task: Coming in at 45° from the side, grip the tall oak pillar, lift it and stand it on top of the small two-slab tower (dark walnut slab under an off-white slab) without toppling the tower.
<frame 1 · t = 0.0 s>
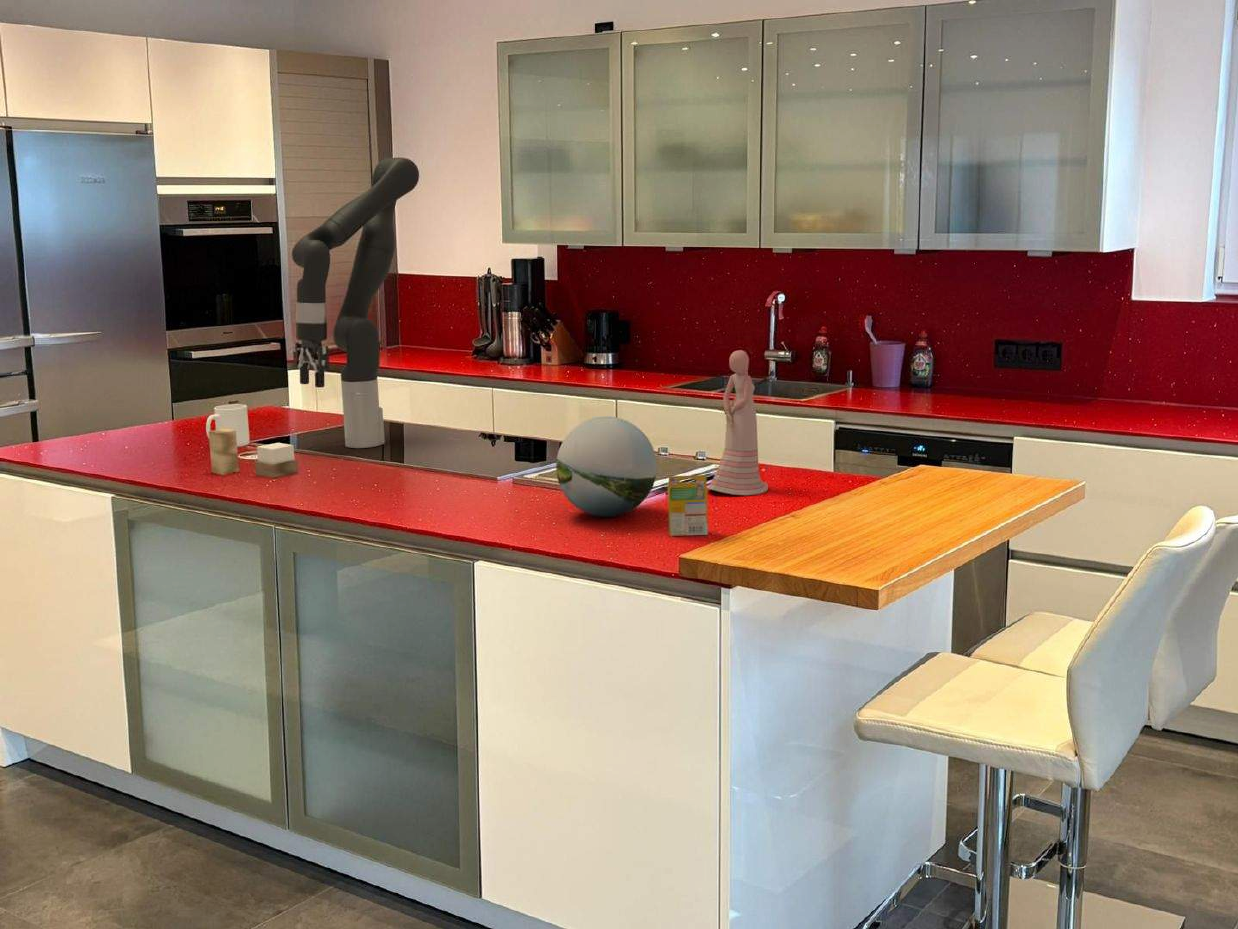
hand: (312, 385, 340), 17 cm above the table, tool pointing down, fingers open, 8 cm apart
crayon box: (688, 535, 256), on the table
slab top: (276, 460, 319), point 3 cm above the table, touching slab base
cup: (227, 446, 356), on the table
decorative sphere: (607, 516, 271), on the table
slab base: (276, 475, 319), on the table, touching slab top
pillar: (225, 472, 323), on the table
figurine: (738, 491, 290), on the table
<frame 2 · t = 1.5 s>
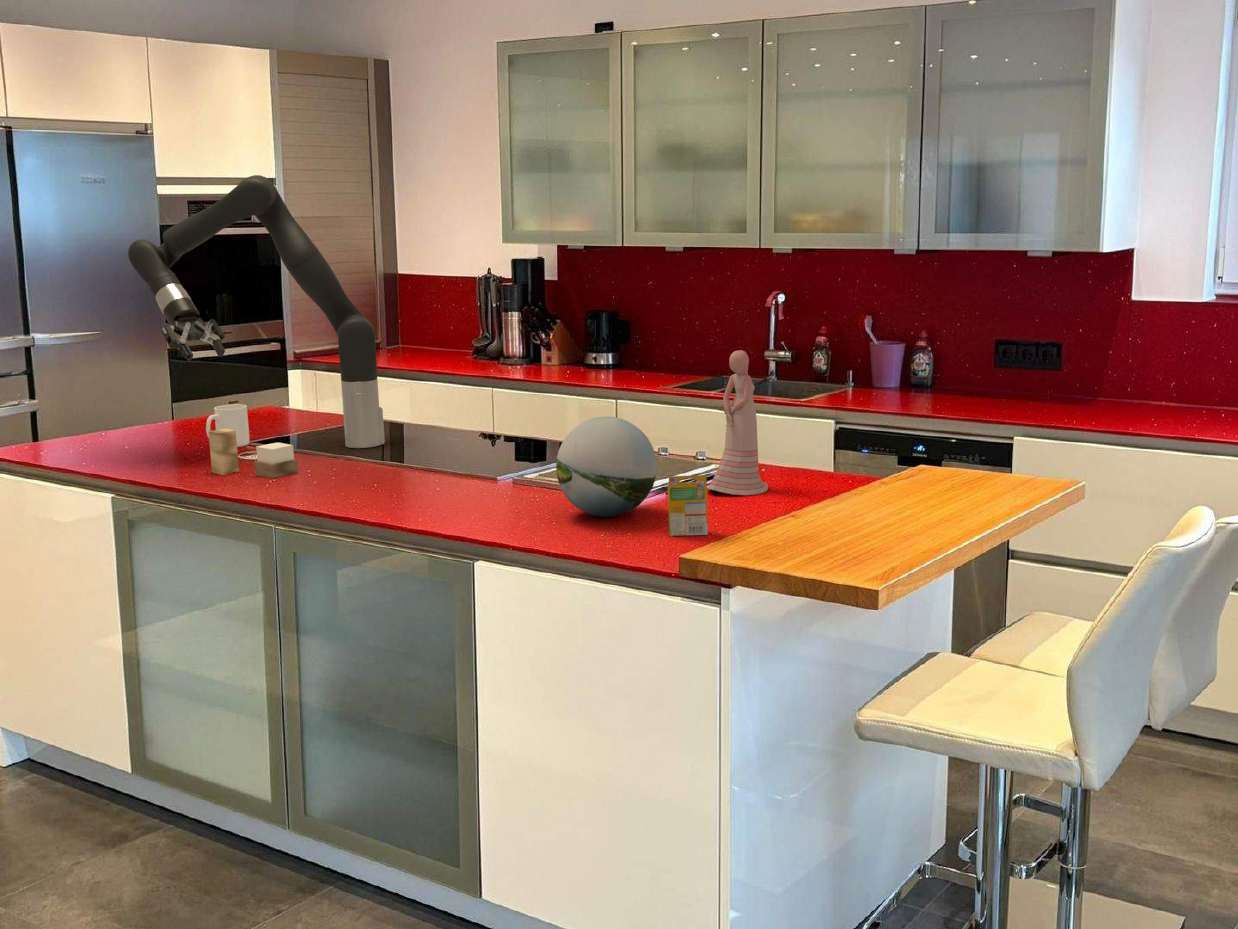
hand: (206, 356, 327), 27 cm above the table, tool tilted 45°, fingers open, 8 cm apart
nothing on the table moved.
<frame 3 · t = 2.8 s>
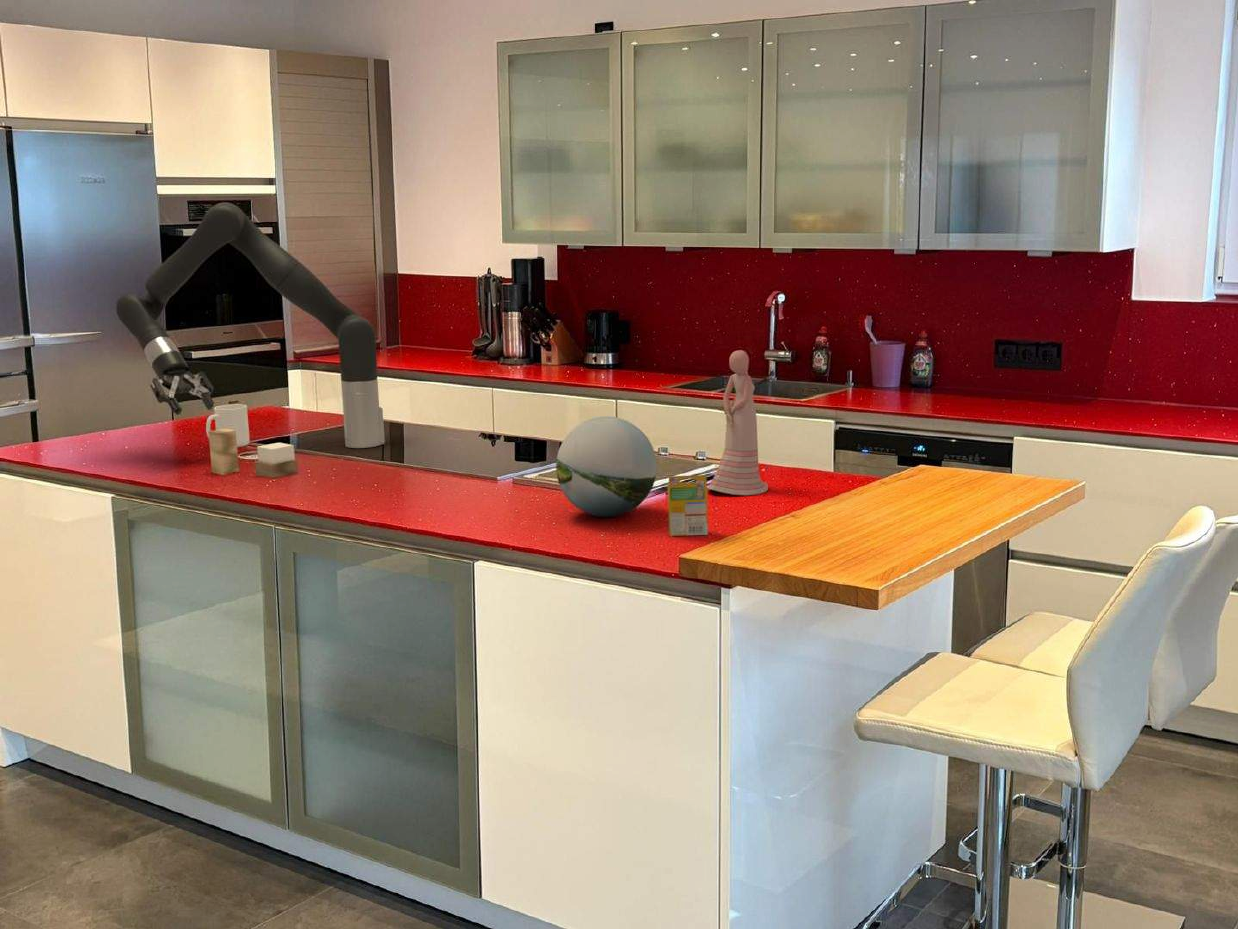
hand: (195, 410, 327), 14 cm above the table, tool tilted 45°, fingers open, 8 cm apart
slab top: (276, 460, 319), point 3 cm above the table
slab base: (276, 475, 319), on the table
everything else where it was.
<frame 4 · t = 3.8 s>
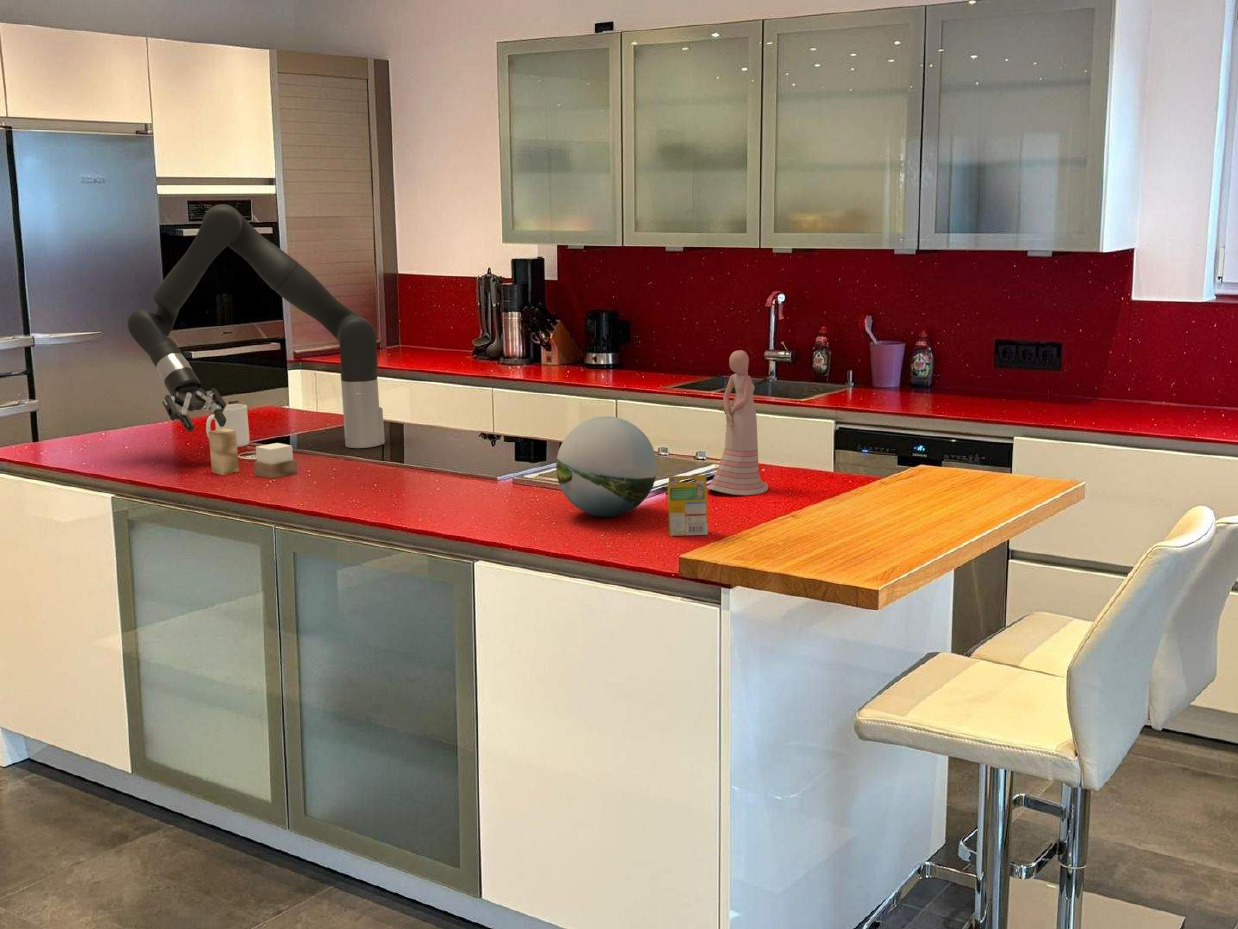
hand: (208, 427, 325), 10 cm above the table, tool tilted 45°, fingers open, 8 cm apart
slab top: (274, 460, 319), point 3 cm above the table, touching slab base
slab base: (276, 475, 319), on the table, touching slab top
everything else where it was.
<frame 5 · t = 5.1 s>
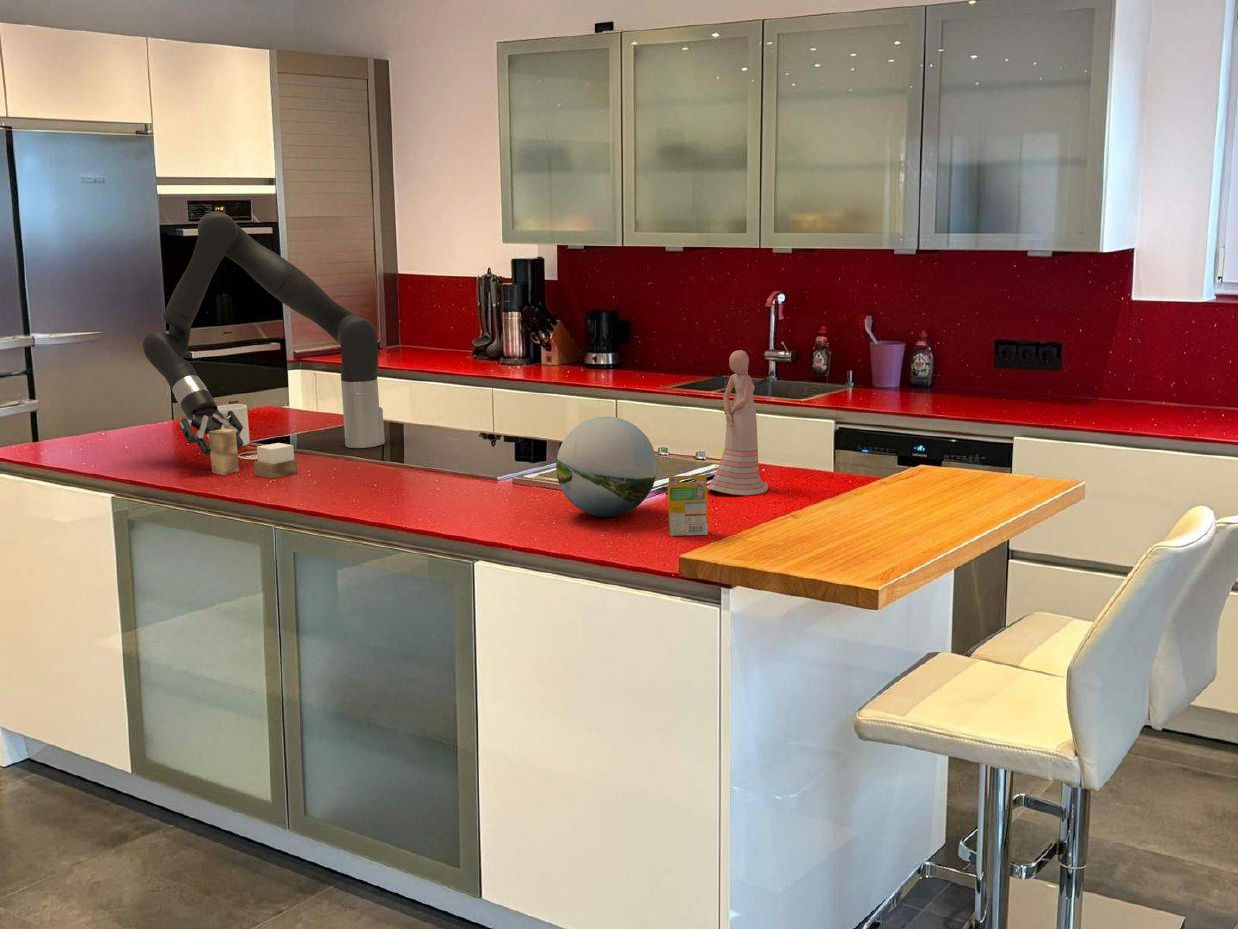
hand: (224, 450, 321), 5 cm above the table, tool tilted 45°, fingers open, 8 cm apart
slab top: (276, 460, 318), point 3 cm above the table
slab base: (276, 475, 319), on the table
everything else where it was.
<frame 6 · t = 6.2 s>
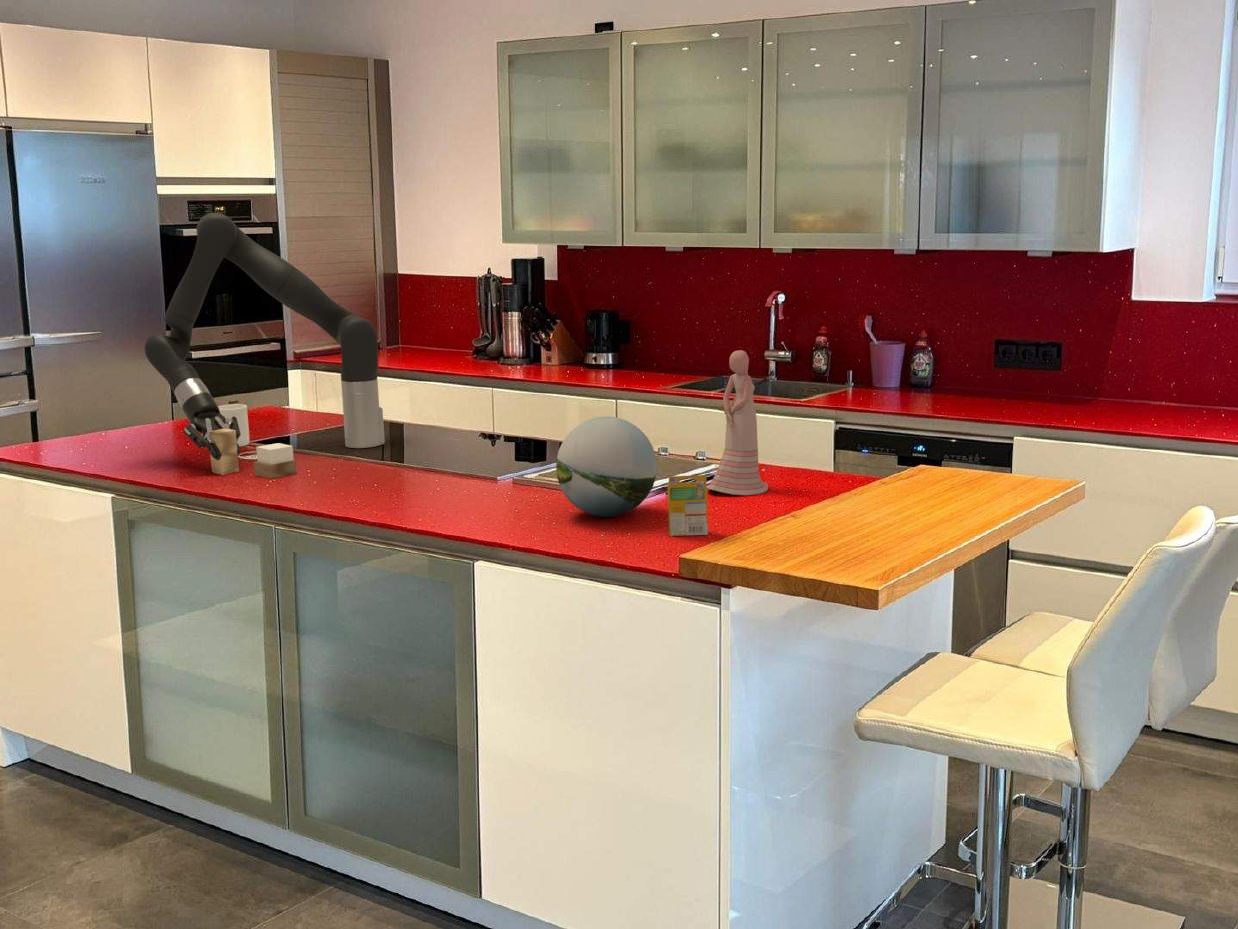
hand: (228, 455, 321), 4 cm above the table, tool tilted 45°, fingers closed on pillar, 4 cm apart
slab top: (275, 461, 318), point 3 cm above the table, touching slab base
slab base: (275, 475, 319), on the table, touching slab top
pillar: (225, 472, 323), on the table, touching gripper
everything else where it was.
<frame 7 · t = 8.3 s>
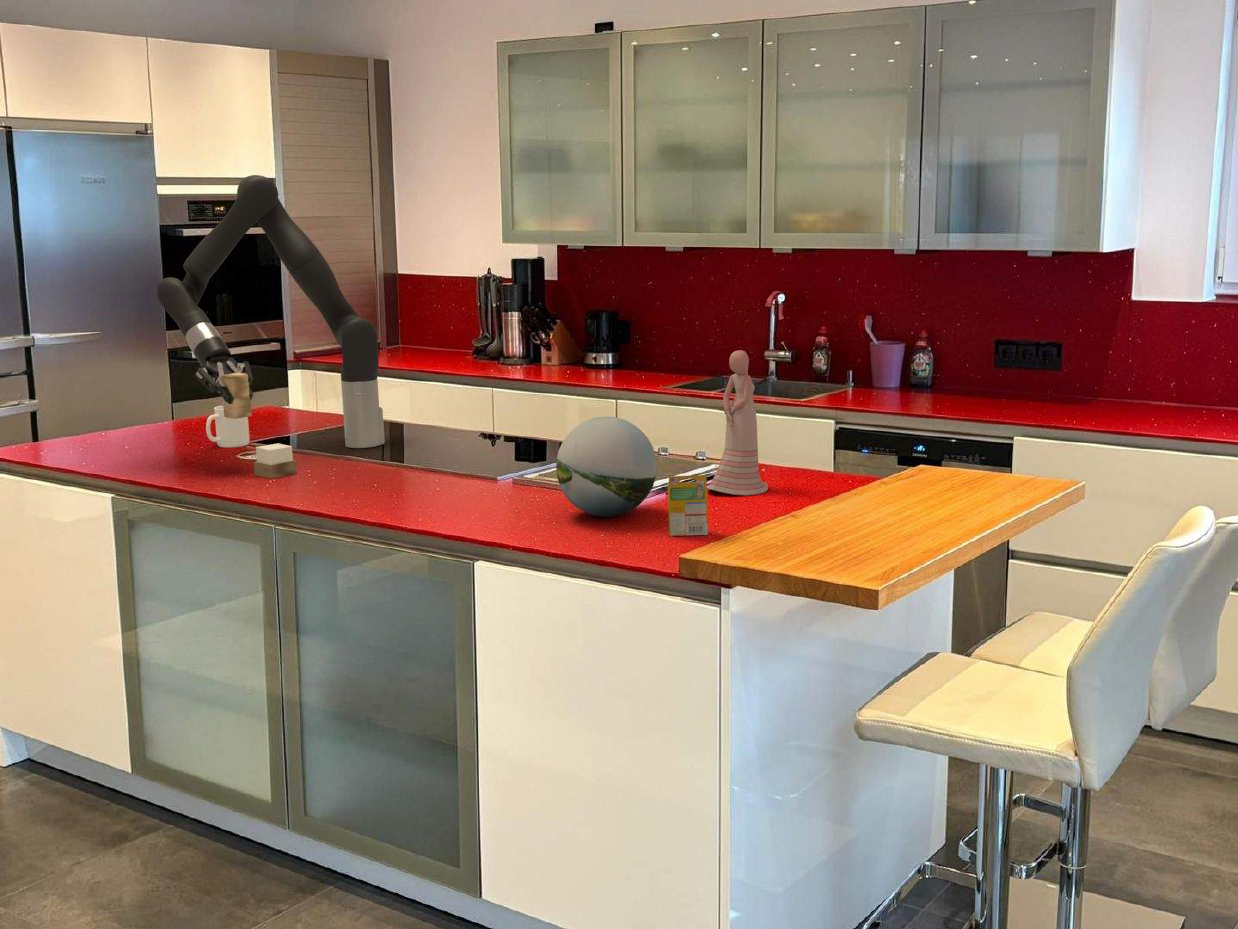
hand: (241, 399, 317), 18 cm above the table, tool tilted 45°, fingers closed on pillar, 4 cm apart
pillar: (238, 416, 319), point 13 cm above the table, touching gripper
everything else where it was.
when the fingers open (13 cm above the table, at t = 10.5 s): pillar drops 2 cm, point 7 cm above the table.
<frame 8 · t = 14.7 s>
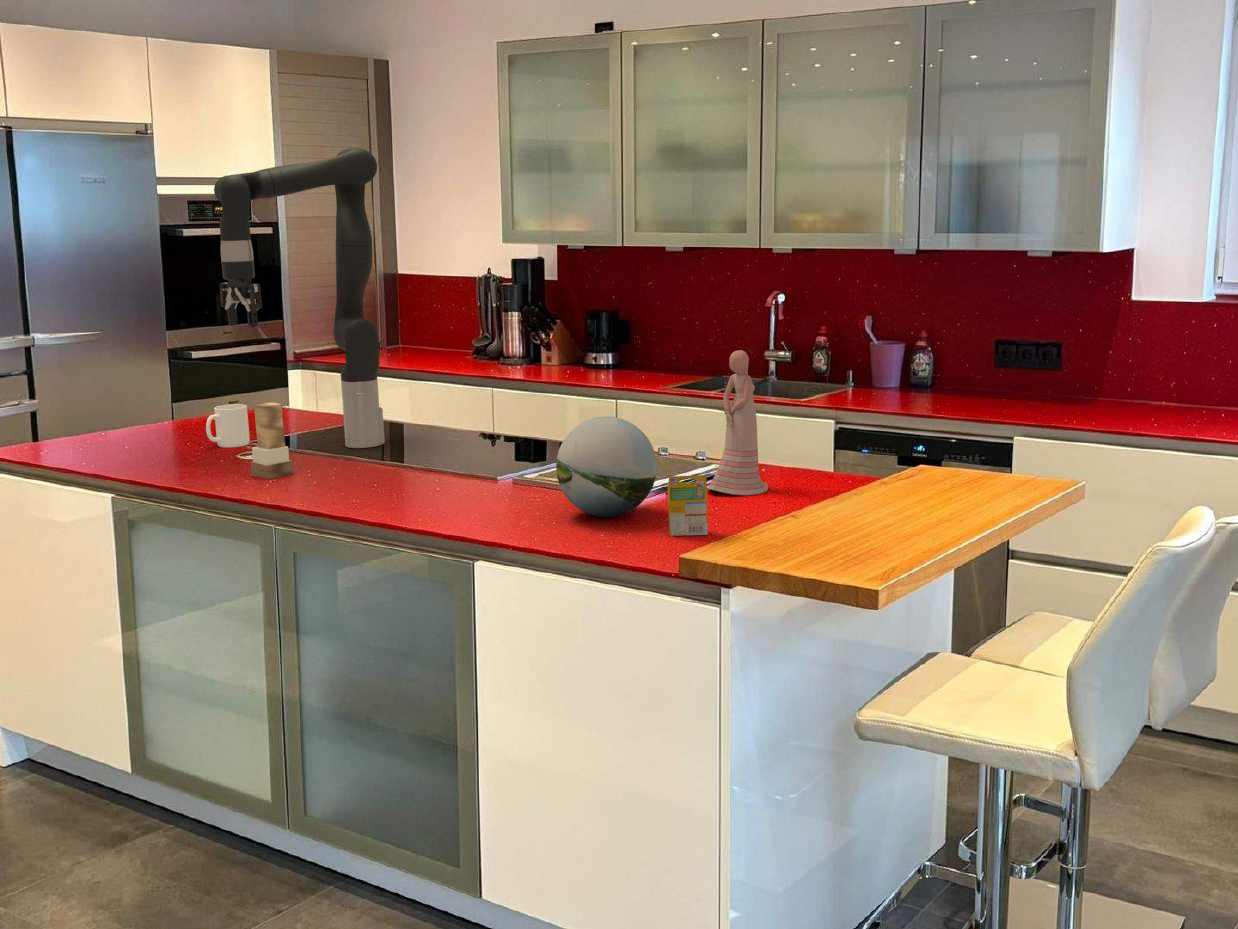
hand: (243, 325, 332), 33 cm above the table, tool pointing down, fingers open, 8 cm apart
pillar: (271, 446, 317), point 7 cm above the table
at the end: pillar 0.5 cm off-centre on the slab top, point 3.6 cm above the slab top's base; pillar tilted 2°; slab top 0.4 cm off-centre on the slab base, point 3.5 cm above the slab base's base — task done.
